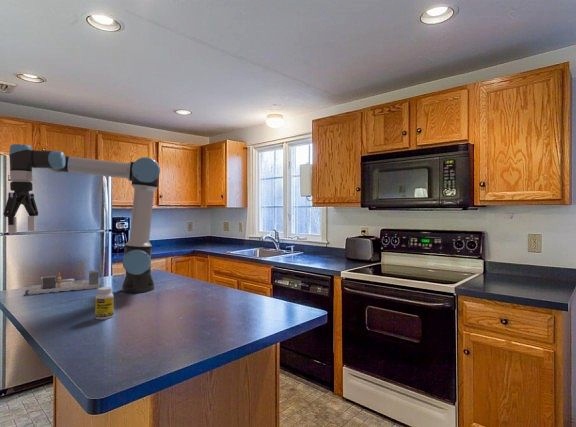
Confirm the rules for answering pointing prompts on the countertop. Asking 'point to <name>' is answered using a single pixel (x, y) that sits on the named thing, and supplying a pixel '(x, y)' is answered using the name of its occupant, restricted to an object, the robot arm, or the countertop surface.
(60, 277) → the orange peg piece
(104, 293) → the pill bottle
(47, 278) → the grey block with rod
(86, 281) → the gauge board
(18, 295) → the countertop surface
